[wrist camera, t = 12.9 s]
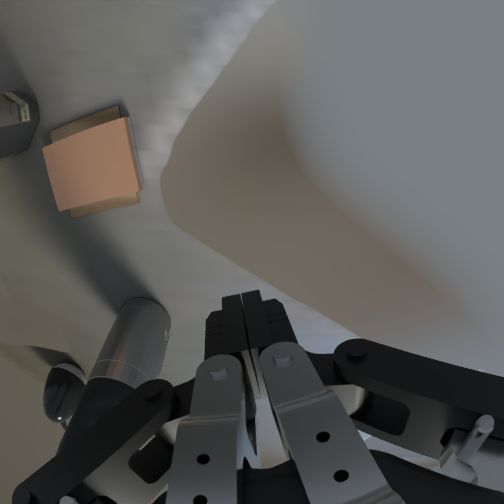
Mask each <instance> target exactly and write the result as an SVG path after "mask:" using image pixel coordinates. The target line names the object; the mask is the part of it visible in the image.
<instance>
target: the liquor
mask: <svg viewBox="0 0 504 504" xmlns="http://www.w3.org/2000/svg"><path fill="white" fill-rule="evenodd" d="M39 120H40V119H39V112H38V105H37V104H36V103H35V102H33V101H32V100H30V99H29V98H28V97H26V96H25V95H23V94H22V93H20V92H19V91H9V92H0V161H2V160H4V159H7V158H10V157H13V156H15V155H18V154H20V153H22V152H24V151H26V150H27V148H28V147H29V145H30V142H31V139H32V137H33V134H34V132H35V129H36V127H37V125H38V122H39Z"/></svg>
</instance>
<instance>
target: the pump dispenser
mask: <svg viewBox="0 0 504 504" xmlns="http://www.w3.org/2000/svg"><path fill="white" fill-rule="evenodd" d="M86 383H87V380H86V377H85V375H84V374H83V372H82V371H81V370H80V369H78V368H77V367H76V366H74V365H72V364H69V363H60V364H58V365H56V366H55V367H54V368H52V369H51V370H50V372H49V374H48V377H47V380H46V384H45V389H44V395H43V407H44V412H45V414H46V416H47V417H48V419H49V420H51V421H52V422H55V423H61V425H62V426H63V428H64V430H66V429H67V425H66V422H65V421H66V420H67V419H69V418H70V417H71V416H72V415H73V413H74V411H75V409H76V406H77V404H78V401H79V399H80V397H81V395H82V393H83V391H84V388H85V386H86Z"/></svg>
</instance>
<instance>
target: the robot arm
mask: <svg viewBox="0 0 504 504" xmlns="http://www.w3.org/2000/svg"><path fill="white" fill-rule="evenodd" d="M241 295H242V300H241V296H240V294H236V295H231V296H226V297H222V310H219V311H214V312H211V313H210V315H209V316H208V318H207V319H206V331H205V336H206V337H205V356H204V361H203V362H202V363H201V364H200V365H199V366H198V368H197V371H196V376H195V378H193V379H191V380H190V381H188V382H185V383H183V384H180V385H178V386H175V387H173V386H172V385H171V383H170V382H168V381H166V380H163V379H157V377H158V376H159V375H160V371H161V367H162V363H163V359H164V355H165V351H166V347H167V343H168V340H169V331H170V327H171V320H170V317H169V315H168V313H167V312H166V310H165V309H164V308H163V307H162V306H160V305H159V304H158V303H156V302H154V301H152V300H149V299H145V298H134V299H130V300H128V301H127V302H126V303H124V305H123V306H122V308H121V310H120V312H119V314H118V316H117V318H116V320H115V322H114V324H113V326H112V328H111V330H110V332H109V334H108V336H107V339H106V341H105V343H104V345H103V347H102V349H101V351H100V354H99V356H98V358H97V360H96V363H95V365H94V367H93V370H92V372H91V374H90V377H89V379H88V381H87V383H86V386H85V388H84V391H83V393H82V395H81V397H80V399H79V401H78V404H77V406H76V409H75V411H74V413H73V416H72V418H71V420H70V422H69V425H68V427H67V429H66V431H65V433H64V436H63V438H62V440H61V442H60V445H59V448H58V450H57V453H56V456H55V457H54V458H52V459H51V460H50V461H49V462H47V463H46V464H45V465H44V466H42V467H41V468H40V469H39V470H37V471H36V472H35V473H33V474H32V475H31V476H30V477H29V478H27V479H26V480H25V481H23V482H22V483H21V484H19V485H18V486H17V487H16V489H15V490H14V493H13V496H12V504H147V503H148V502H149V501H150V500H151V499H152V498H154V496H155V495H156V494H158V493H159V492H160V491H161V490H162V489H163V488H164V487H165V486H166V484H167V483H168V482H169V483H168V490H167V491H166V492H164V493H163V494H162V495H161V496H159V497H158V498H157V499H156V500H155V501H154V502H153V504H504V377H500V376H496V375H492V374H488V373H484V372H480V371H476V370H472V369H468V368H464V367H460V366H456V365H453V364H449V363H445V362H441V361H438V360H434V359H431V358H427V357H423V356H420V355H416V354H413V353H409V352H406V351H403V350H399V349H396V348H392V347H389V346H386V345H383V344H379V343H376V342H373V341H369V340H366V339H350V340H347V341H345V342H343V343H341V344H339V345H338V346H337V347H336V349H335V351H334V354H315V353H310V352H308V351H306V350H304V348H303V347H302V346H300V345H299V344H298V342H297V339H296V337H295V334H294V331H293V329H292V326H291V324H290V321H289V320H288V316H287V314H286V311H285V309H284V306H283V304H282V303H280V302H279V301H278V300H276V299H270V300H266V301H262V298H261V295H260V291H259V290H254V291H250V292H245V293H241ZM242 301H243V304H242ZM243 307H244V308H243ZM257 376H258V378H257ZM258 380H259V383H258ZM259 384H260V388H261V391H262V395H263V398H265V397H268V398H269V402H270V406H271V410H272V414H273V417H274V420H275V424H276V427H277V430H278V433H279V436H280V439H281V442H282V445H283V448H284V451H285V454H286V457H287V460H288V461H286V462H284V463H282V464H280V465H277V466H275V467H272V468H268V469H262V468H261V463H260V453H259V437H258V421H257V415H256V403H255V400H256V399H261V394H260V388H259ZM357 429H358V430H360V431H362V432H365V433H367V434H369V435H372V436H374V437H377V438H379V439H382V440H384V441H387V442H389V443H392V444H394V445H397V446H400V447H402V448H405V449H408V450H411V451H413V452H417V453H419V454H422V455H425V456H428V457H431V458H434V459H437V460H439V464H440V468H441V470H442V472H443V473H444V475H443V474H440V473H437V472H434V471H431V470H429V469H426V468H424V467H421V466H418V465H416V464H413V463H411V462H408V461H406V460H404V459H401V458H399V457H396V456H394V455H391V454H389V453H385V452H382V451H377V450H371V449H368V448H367V446H366V444H365V443H364V441H363V439H362V437H361V436H360V434H359V432H358V430H357ZM153 435H155V437H154V438H153V439H152V440H151V441H150V442H149V443H148V444H147V445H146V446H145V447H144V448H143V449H142V450H139V448H140V447H141V446H142V445H143V444H144V443H145V442H146V441H147V440H148V439H149V438H151V437H152V436H153Z"/></svg>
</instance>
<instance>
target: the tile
mask: <svg viewBox="0 0 504 504" xmlns="http://www.w3.org/2000/svg"><path fill="white" fill-rule="evenodd" d="M42 150H43V154H44V159H45V163H46V167H47V171H48V175H49V179H50V183H51V187H52V190H53V194H54V197H55V201H56V204H57V207H58V211H59V212H60V211H63V210H67V209H71V208H74V207H78V206H82V205H85V204H89V203H93V202H97V201H101V200H105V199H109V198H113V197H117V196H121V195H126V194H130V193H135V192H139V191H141V190H142V189H143V188H144V184H143V180H142V175H141V171H140V167H139V162H138V157H137V153H136V148H135V143H134V138H133V133H132V128H131V122H130V117H122V118H119V119H116V120H113V121H110V122H107V123H104V124H101V125H98V126H95V127H92V128H90V129H87V130H84V131H82V132H79V133H76V134H74V135H71V136H69V137H66V138H64V139H61V140H59V141H57V142H54V143H52V144H50V145H47V146H45V147H43V148H42Z"/></svg>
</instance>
